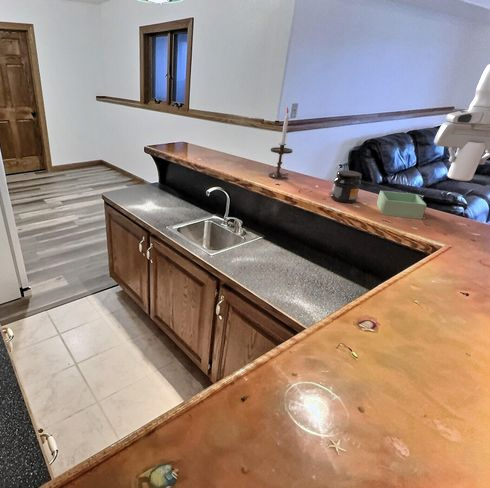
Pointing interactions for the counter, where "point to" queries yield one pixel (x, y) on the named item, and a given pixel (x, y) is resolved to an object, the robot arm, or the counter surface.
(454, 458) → the counter surface
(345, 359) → the counter surface
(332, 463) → the counter surface
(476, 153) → the can
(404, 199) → the box
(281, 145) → the candlestick
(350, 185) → the supplement container
